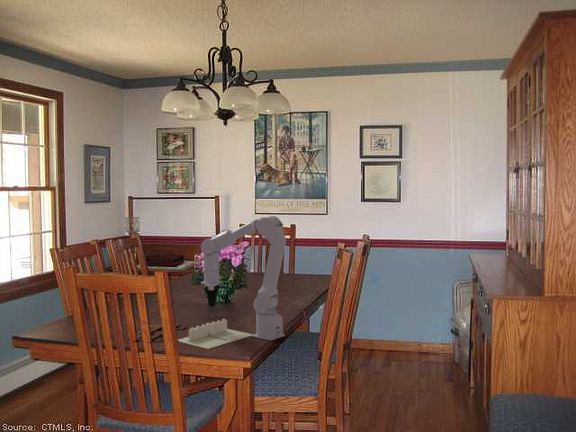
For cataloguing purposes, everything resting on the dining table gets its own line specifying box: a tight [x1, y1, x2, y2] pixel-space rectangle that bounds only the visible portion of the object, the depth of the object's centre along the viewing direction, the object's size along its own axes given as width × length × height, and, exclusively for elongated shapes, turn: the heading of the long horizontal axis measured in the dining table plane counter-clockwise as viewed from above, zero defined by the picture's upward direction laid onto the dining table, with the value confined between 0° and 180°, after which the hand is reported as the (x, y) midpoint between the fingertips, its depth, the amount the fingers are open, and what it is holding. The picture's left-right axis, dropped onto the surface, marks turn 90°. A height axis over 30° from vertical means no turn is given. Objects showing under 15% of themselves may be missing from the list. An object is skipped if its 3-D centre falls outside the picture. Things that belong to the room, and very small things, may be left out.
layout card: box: [177, 328, 255, 350], centre depth 211 cm, size 17×23×1 cm
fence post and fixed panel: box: [188, 322, 212, 341], centre depth 210 cm, size 2×10×5 cm, turn 141°
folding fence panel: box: [211, 318, 228, 335], centre depth 217 cm, size 8×1×5 cm, turn 141°
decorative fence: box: [136, 323, 188, 343], centre depth 218 cm, size 23×2×15 cm
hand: (212, 305), depth 220 cm, fingers closed
